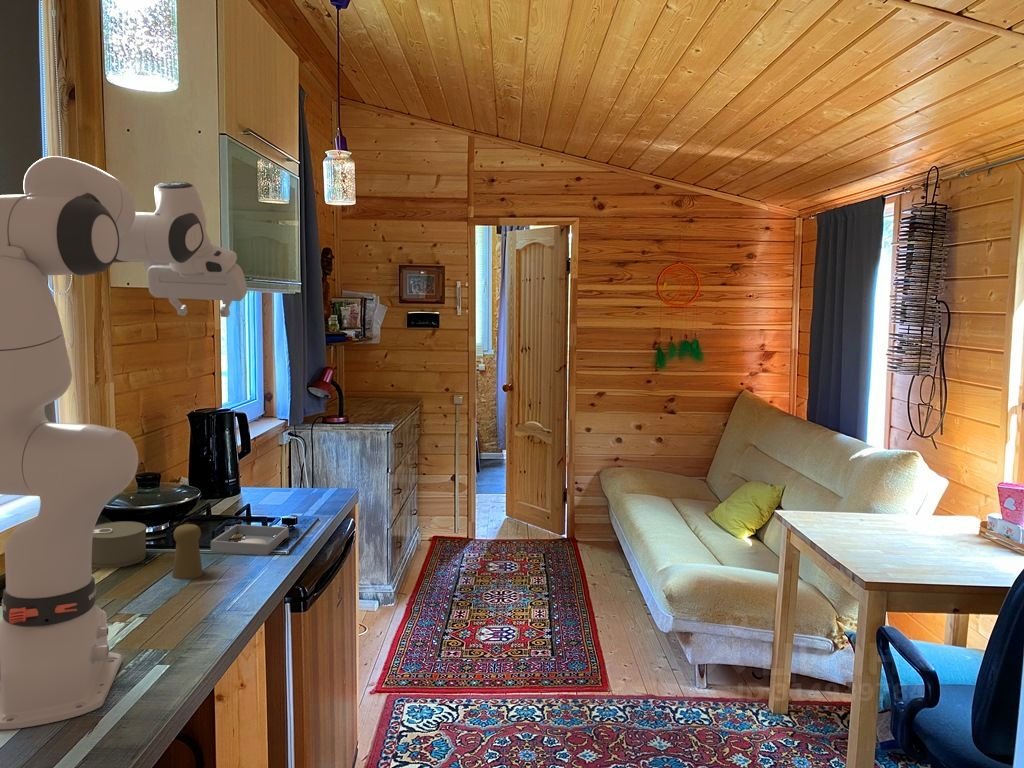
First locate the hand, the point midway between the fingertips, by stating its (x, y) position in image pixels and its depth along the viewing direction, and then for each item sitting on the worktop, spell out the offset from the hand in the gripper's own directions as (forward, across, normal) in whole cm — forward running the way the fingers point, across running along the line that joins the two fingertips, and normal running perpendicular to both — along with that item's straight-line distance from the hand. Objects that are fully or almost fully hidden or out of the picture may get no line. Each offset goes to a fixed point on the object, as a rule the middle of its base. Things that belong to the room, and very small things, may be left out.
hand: (204, 314), depth 164 cm
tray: (+50, +9, -21) cm, 55 cm away
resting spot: (+50, +9, -20) cm, 55 cm away
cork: (+41, +3, -39) cm, 56 cm away
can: (+45, -17, -31) cm, 57 cm away
